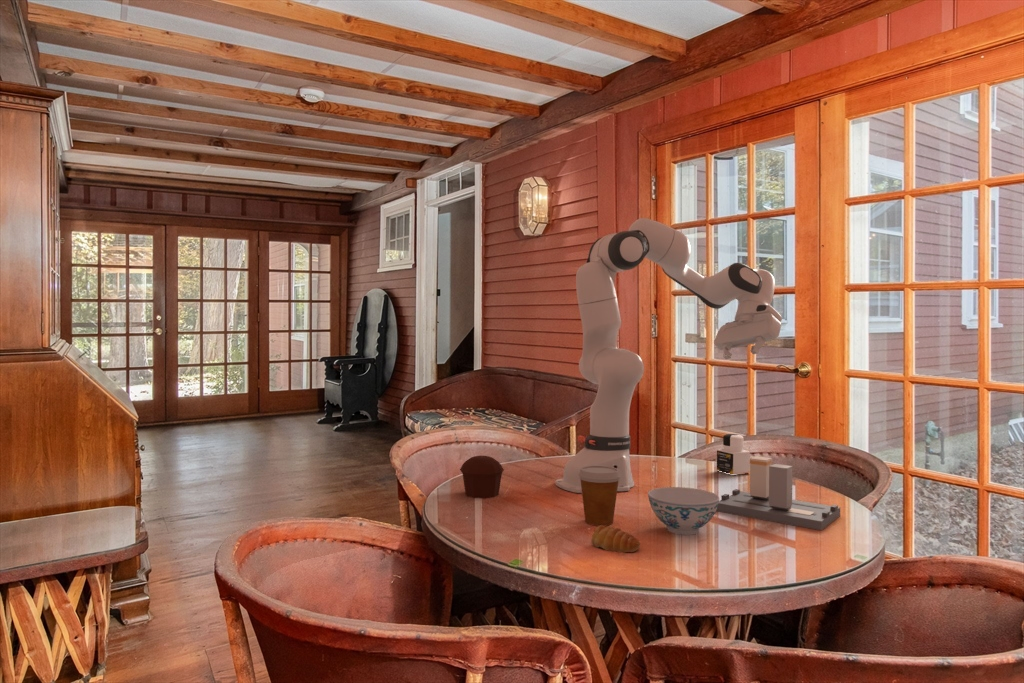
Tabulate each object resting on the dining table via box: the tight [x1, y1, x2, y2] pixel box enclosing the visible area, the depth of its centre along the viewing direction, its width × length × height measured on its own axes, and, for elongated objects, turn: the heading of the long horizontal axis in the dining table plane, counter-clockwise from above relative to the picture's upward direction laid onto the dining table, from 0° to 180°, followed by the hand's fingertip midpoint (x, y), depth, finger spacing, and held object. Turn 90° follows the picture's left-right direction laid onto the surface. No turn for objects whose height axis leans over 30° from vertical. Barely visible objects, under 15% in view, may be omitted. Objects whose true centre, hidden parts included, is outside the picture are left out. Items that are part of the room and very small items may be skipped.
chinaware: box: [647, 486, 720, 536], centre depth 140 cm, size 15×15×8 cm
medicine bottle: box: [716, 433, 751, 474], centre depth 201 cm, size 7×7×12 cm
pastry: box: [590, 525, 641, 553], centre depth 129 cm, size 9×7×4 cm
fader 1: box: [749, 455, 773, 500], centre depth 160 cm, size 4×4×10 cm
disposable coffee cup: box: [578, 466, 621, 527], centre depth 146 cm, size 10×10×12 cm
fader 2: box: [769, 463, 793, 510], centre depth 150 cm, size 4×4×10 cm
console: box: [716, 488, 841, 531], centre depth 155 cm, size 24×16×3 cm, turn 50°
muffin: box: [459, 455, 505, 499], centre depth 171 cm, size 12×11×10 cm
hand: (740, 355), depth 186 cm, fingers open, 8 cm apart
